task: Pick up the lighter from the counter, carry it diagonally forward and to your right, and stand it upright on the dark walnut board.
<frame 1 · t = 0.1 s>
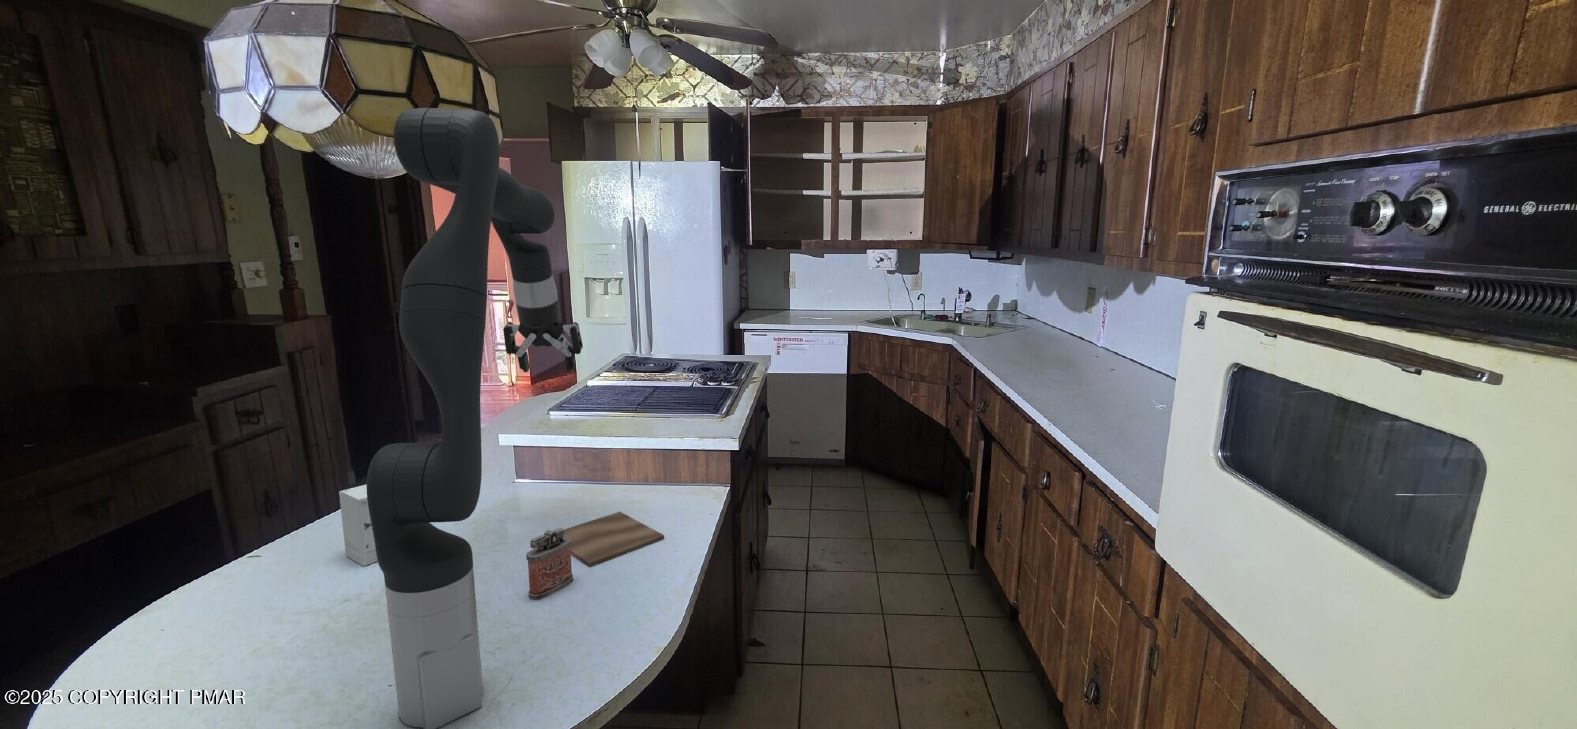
hand: (548, 370, 128), 31 cm above the counter, tool tilted 20°, fingers open, 8 cm apart
supplement box: (376, 555, 116), on the counter
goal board: (606, 538, 123), on the counter
lighter: (551, 589, 105), on the counter
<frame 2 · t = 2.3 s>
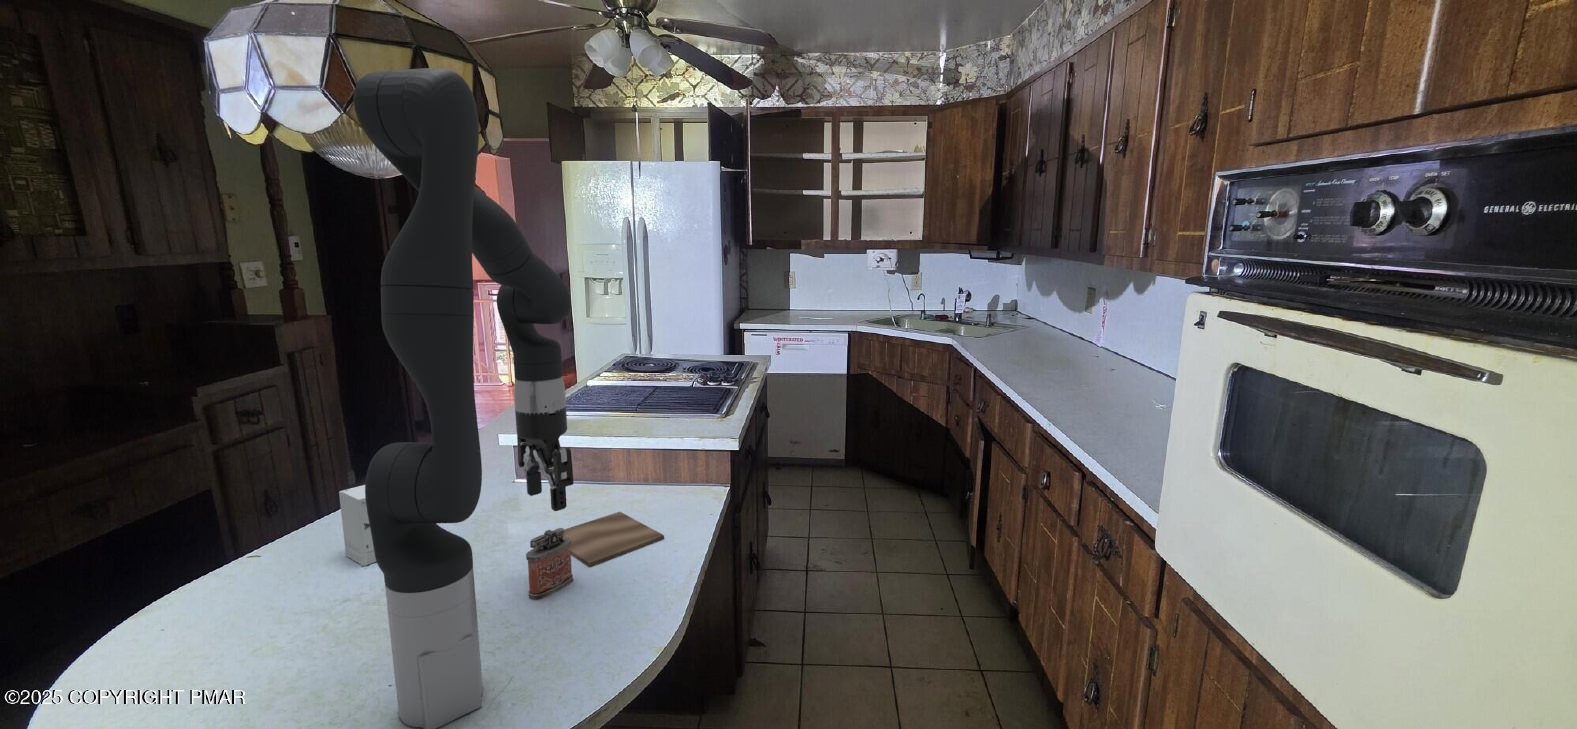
hand: (546, 501, 102), 15 cm above the counter, tool pointing down, fingers open, 8 cm apart
nothing on the counter moved.
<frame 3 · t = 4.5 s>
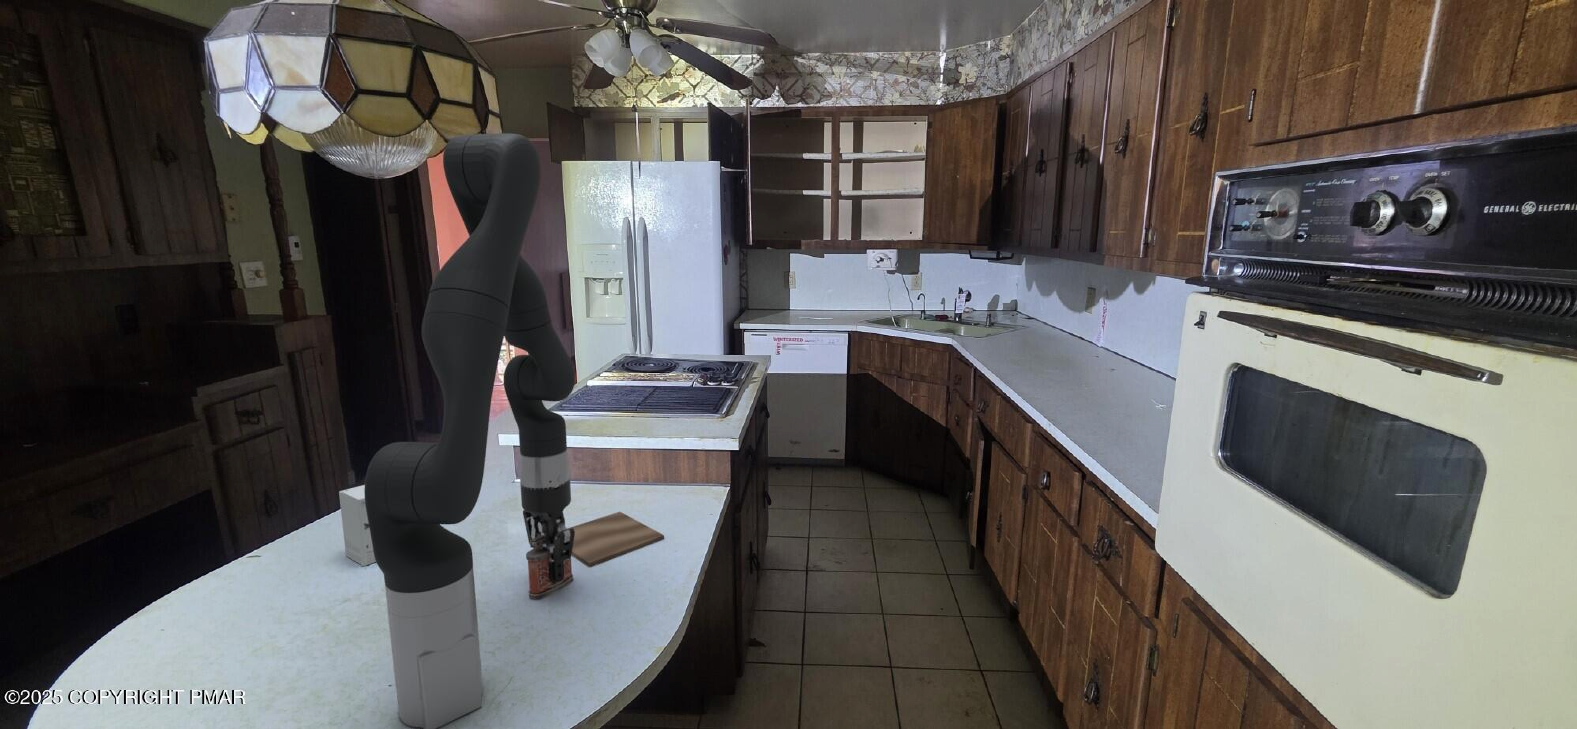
hand: (550, 575, 104), 2 cm above the counter, tool pointing down, fingers closed on lighter, 3 cm apart
lighter: (551, 589, 105), on the counter, touching gripper
everything else where it was.
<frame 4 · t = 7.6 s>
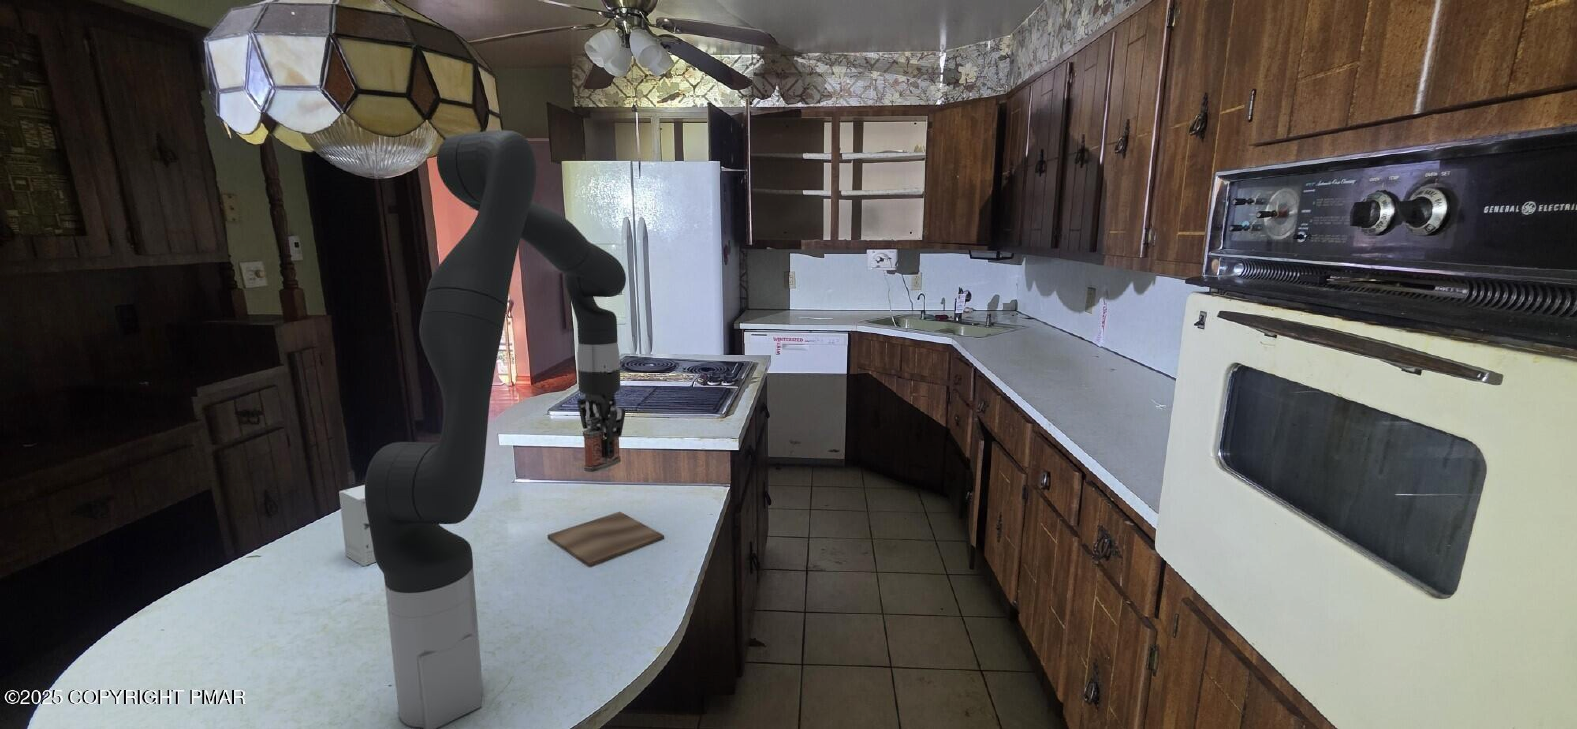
hand: (602, 454, 120), 17 cm above the counter, tool pointing down, fingers closed on lighter, 3 cm apart
lighter: (603, 466, 120), point 15 cm above the counter, touching gripper
everything else where it was.
when the fingers open (4 cm above the counter, at t = 10.7 s): lighter drops 1 cm, resting on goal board.
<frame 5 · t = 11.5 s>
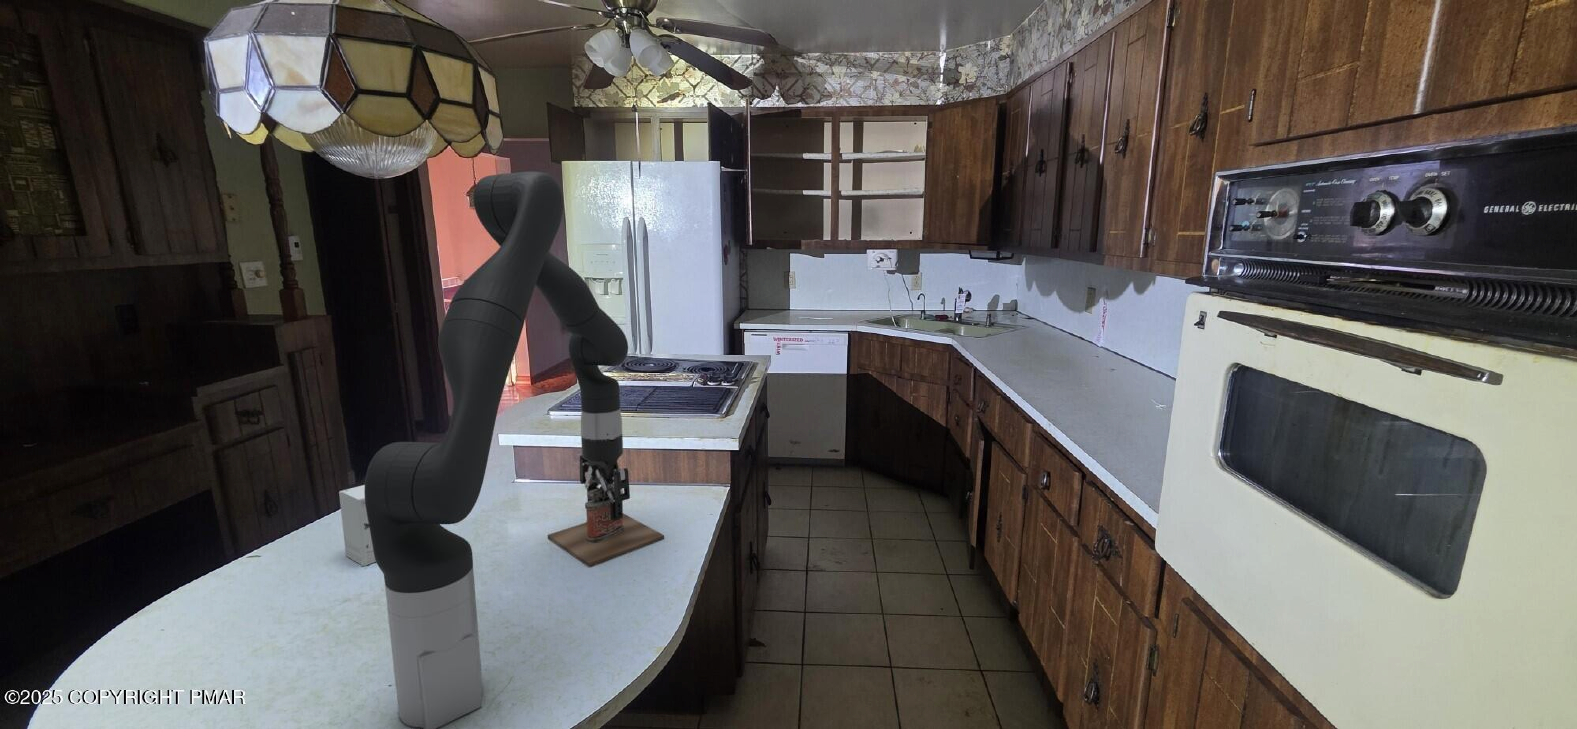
hand: (605, 512, 122), 5 cm above the counter, tool pointing down, fingers open, 8 cm apart
lighter: (605, 536, 123), point 1 cm above the counter, touching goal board
everything else where it was.
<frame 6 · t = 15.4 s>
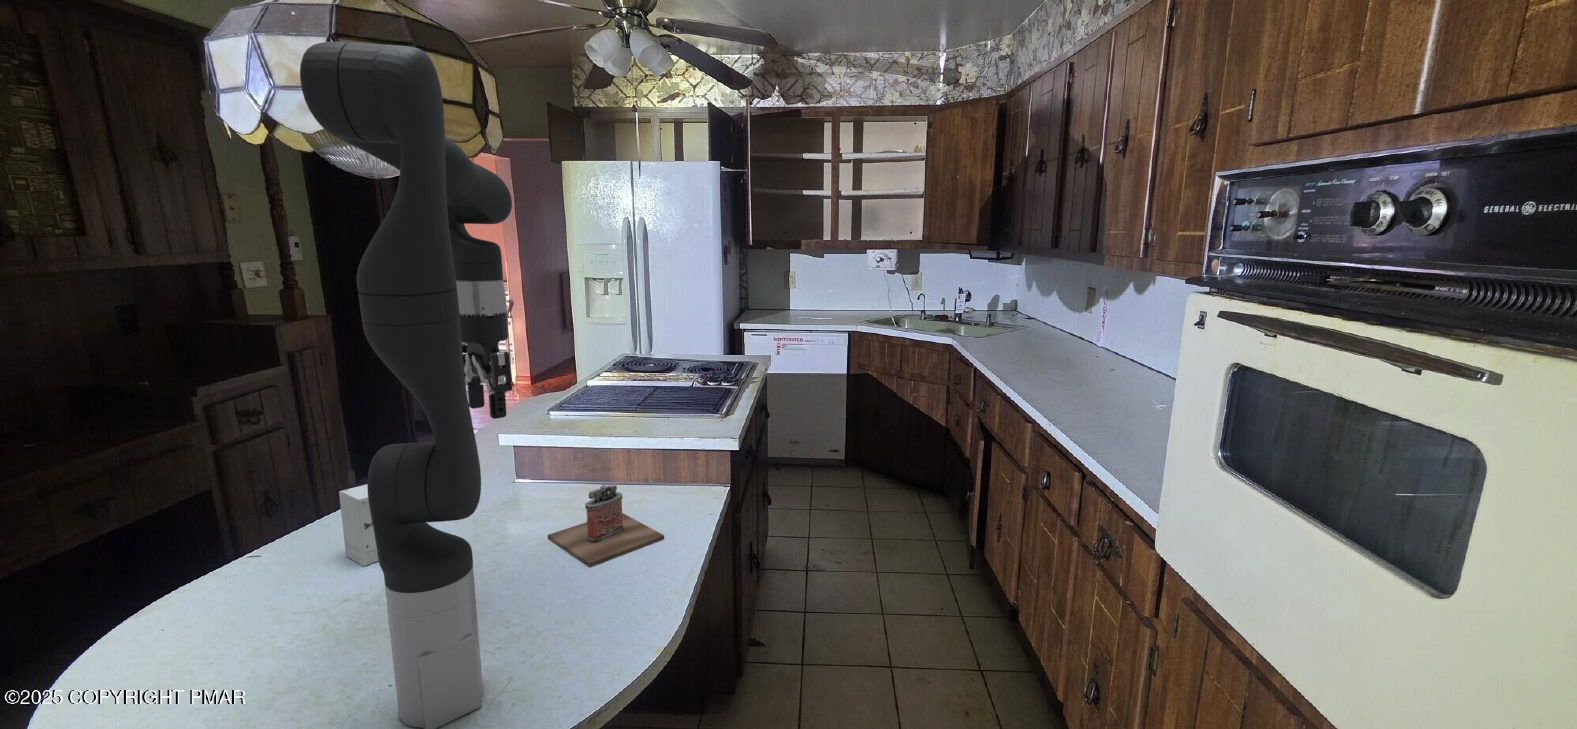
hand: (487, 412, 99), 30 cm above the counter, tool pointing down, fingers open, 8 cm apart
nothing on the counter moved.
at the end: lighter inside the target area on the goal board (0.1 cm from its centre), point 0.6 cm above the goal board's base; lighter tilted 0°; the gripper is holding nothing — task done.
